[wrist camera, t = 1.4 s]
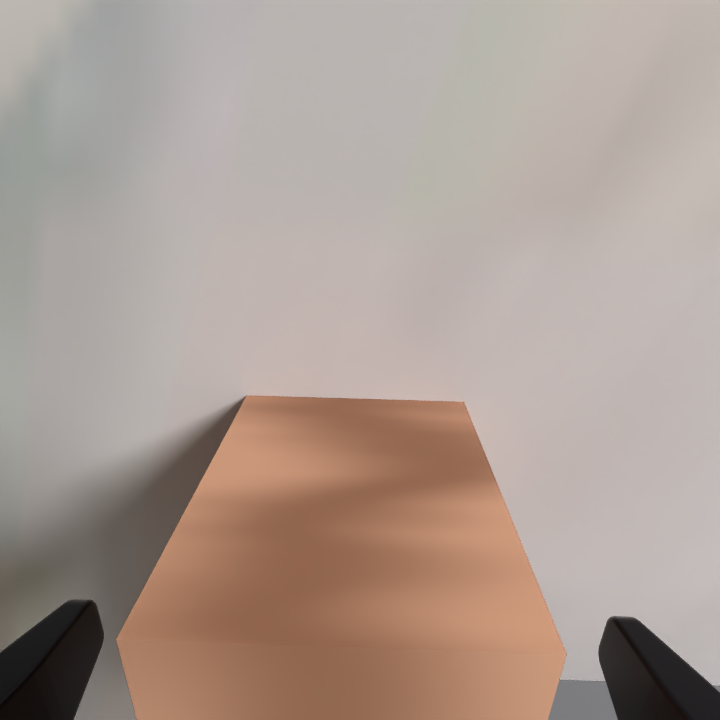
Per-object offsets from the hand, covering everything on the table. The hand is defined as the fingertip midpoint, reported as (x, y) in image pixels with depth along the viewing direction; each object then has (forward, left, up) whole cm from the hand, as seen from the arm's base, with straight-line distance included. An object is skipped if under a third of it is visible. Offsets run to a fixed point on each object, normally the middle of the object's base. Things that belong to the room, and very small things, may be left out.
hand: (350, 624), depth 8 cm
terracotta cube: (0, 0, -4) cm, 4 cm away
